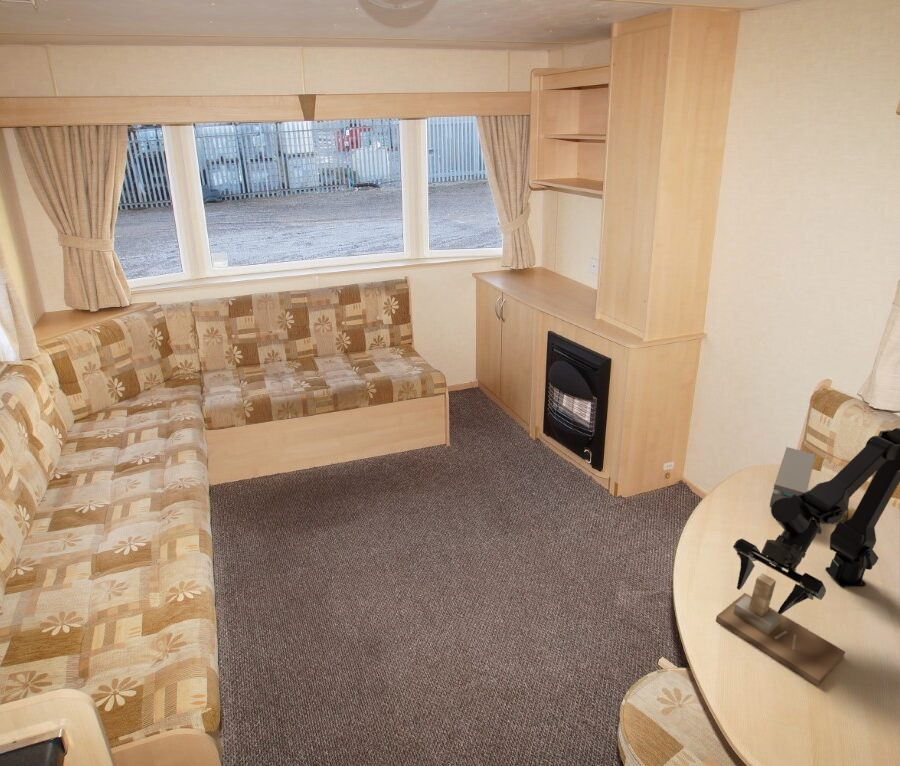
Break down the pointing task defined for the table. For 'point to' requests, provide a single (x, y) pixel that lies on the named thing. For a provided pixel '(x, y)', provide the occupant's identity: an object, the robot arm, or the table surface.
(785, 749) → the table surface
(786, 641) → the walnut board
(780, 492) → the grey rectangular box
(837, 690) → the table surface
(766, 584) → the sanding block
